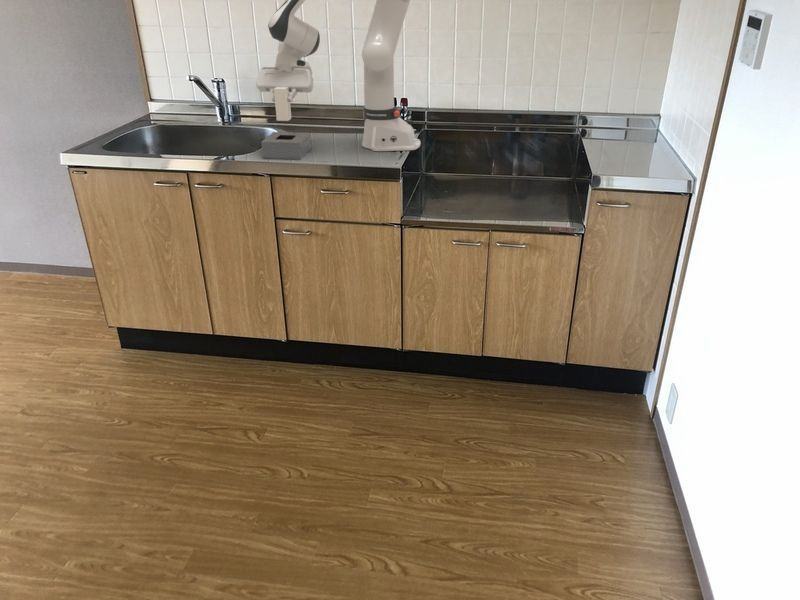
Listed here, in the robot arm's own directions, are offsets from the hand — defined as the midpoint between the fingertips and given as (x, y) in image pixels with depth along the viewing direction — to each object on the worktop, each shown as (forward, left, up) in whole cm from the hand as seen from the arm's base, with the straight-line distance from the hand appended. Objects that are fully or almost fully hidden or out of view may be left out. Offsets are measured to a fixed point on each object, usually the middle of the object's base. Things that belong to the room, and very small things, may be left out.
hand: (282, 101), depth 237 cm
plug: (0, -1, -7) cm, 7 cm away
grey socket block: (0, -1, -19) cm, 19 cm away
